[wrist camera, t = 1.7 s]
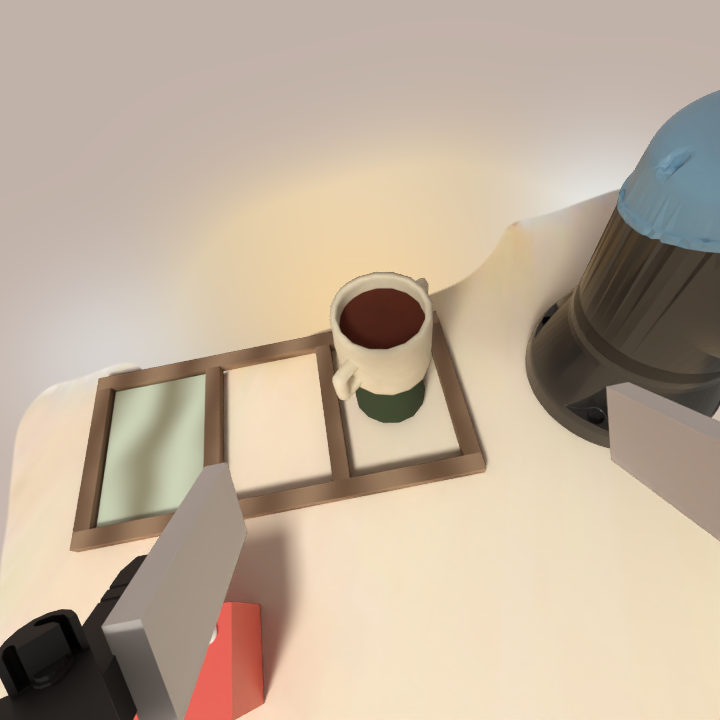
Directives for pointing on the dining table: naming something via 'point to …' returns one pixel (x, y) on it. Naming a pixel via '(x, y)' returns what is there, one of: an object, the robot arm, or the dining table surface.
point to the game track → (222, 443)
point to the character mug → (383, 343)
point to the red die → (230, 667)
